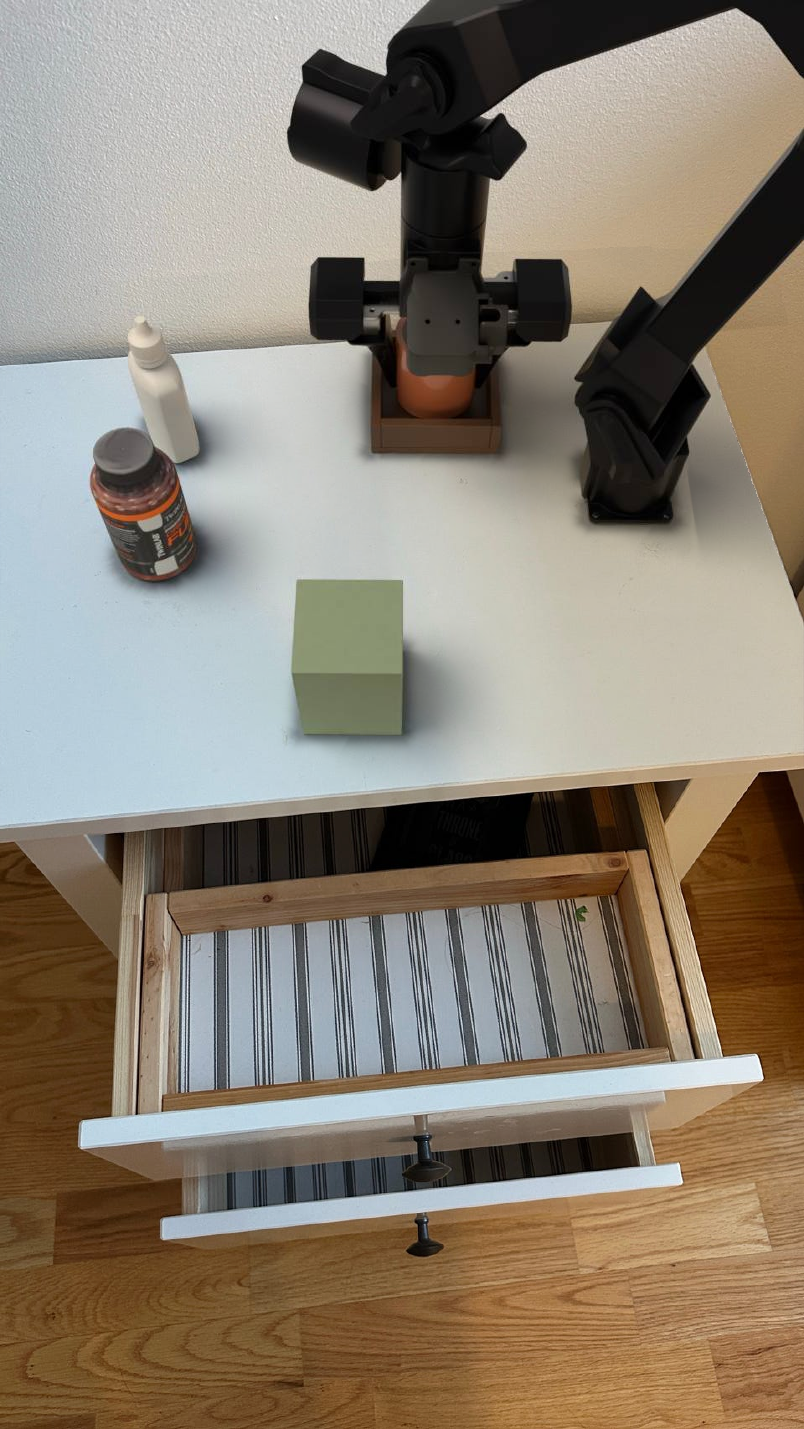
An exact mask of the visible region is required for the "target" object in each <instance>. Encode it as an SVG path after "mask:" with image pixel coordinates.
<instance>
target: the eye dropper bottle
mask: <svg viewBox="0 0 804 1429" xmlns="http://www.w3.org/2000/svg"><path fill="white" fill-rule="evenodd" d="M127 341H128V346H129V348H130V349H129V351H128V353H127V354H128V355H127V366H128V371H129V374H130V378H131V381H132V383H133V384H132V385H133V387H134V390H135V394H136V396H137V399H138V400H137V401H138V403H139V405H140V409H141V412H142V415H143V418H144V421H145V424H146V427H147V431H148V434H149V437H150V438H151V440H152V442H153V444H154V447H156V448H158V449H160V450H162V451H163V452H164V453H166V454H167V456H169V457H170V459H171V460H172V461H173V463H174V464H180V463H183V462H186V461H187V460H190V459H193V458H194V457H197V456H198V455H199V453H200V441H199V436H198V432H197V429H196V425H195V421H194V417H193V413H192V410H191V406H190V402H189V398H188V394H187V390H186V387H185V383H184V379H183V376H182V372H181V370H180V367H179V365H178V363H177V360H175V358H174V356H173V355H172V354H171V353H170V352H169V351H168V350H167V348H166V344H165V339H164V337H163V333H162V331H161V329H160V328H159V327H158V326H156V325H154V324H152V323H148V322H147V320H146V318H145V317H144V316H142V315H139V316H136V317H135V319H134V327H133V328H131V329H130V330H129V332H128V334H127Z"/></svg>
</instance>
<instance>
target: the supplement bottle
mask: <svg viewBox="0 0 804 1429" xmlns="http://www.w3.org/2000/svg"><path fill="white" fill-rule="evenodd" d="M92 458H93V461H94V465H93V466H92V468H91V471H90V474H89V487H90V491H91V492H90V493H91V494H92V497H93V499H94V501H95V504H96V507H97V509H98V511H99V513H100V516H101V518H102V521H103V523H104V525H105V528H106V531H107V534H108V535H109V537H110V540H111V542H112V545H113V548H114V550H115V552H116V554H117V557H118V559H119V561H120V563H121V565H122V567H123V568H124V569H125V570H126V571H127V572H128V573H129V574H130V575H132V576H133V577H136V578H138V579H141V580H143V581H151V582H152V581H153V582H154V581H164V580H168V579H171V578H174V577H175V576H178V575H180V574H182V573H183V571H185V570H186V569H187V568H188V567H189V566H190V565H191V563H192V562H193V560H194V558H195V555H196V553H197V548H198V547H197V546H198V545H197V537H196V533H195V528H194V525H193V522H192V518H191V515H190V512H189V509H188V505H187V502H186V499H185V494H184V491H183V487H182V484H181V480H180V477H179V474H178V470H177V469H176V465H175V463H174V462H173V461H172V460H171V459H170V457H169V456H167V454H166V453H164V452H163V451H162V450H160V449H158V448H156V446H155V445H154V443H153V441H152V439H151V437H150V435H148V434H147V433H146V432H144V431H143V430H141V429H138V428H133V427H129V426H128V427H118V428H115V429H112V430H110V431H109V430H108V431H107V432H106V433H104V434H103V435H102V436H100V437H99V438H98V439H97V440H96V442H95V443H94V446H93V449H92Z"/></svg>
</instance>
